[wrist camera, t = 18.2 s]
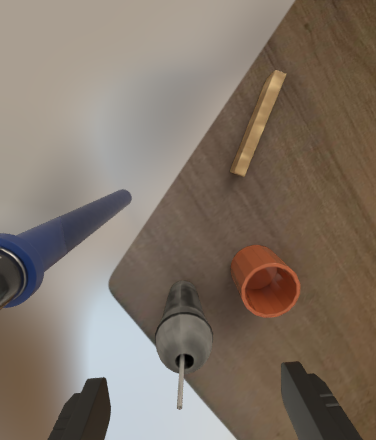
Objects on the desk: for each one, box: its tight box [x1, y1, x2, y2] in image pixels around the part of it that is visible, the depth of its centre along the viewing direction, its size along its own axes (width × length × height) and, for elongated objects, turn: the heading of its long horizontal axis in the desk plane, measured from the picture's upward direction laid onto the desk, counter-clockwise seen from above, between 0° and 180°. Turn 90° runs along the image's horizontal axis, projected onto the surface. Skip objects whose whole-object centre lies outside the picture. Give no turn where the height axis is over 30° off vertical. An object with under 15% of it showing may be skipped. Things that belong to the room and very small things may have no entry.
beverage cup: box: [155, 281, 213, 410], centre depth 34 cm, size 7×7×20 cm
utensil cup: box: [231, 245, 300, 318], centre depth 39 cm, size 8×8×8 cm
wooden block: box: [230, 70, 286, 177], centre depth 36 cm, size 2×4×14 cm
